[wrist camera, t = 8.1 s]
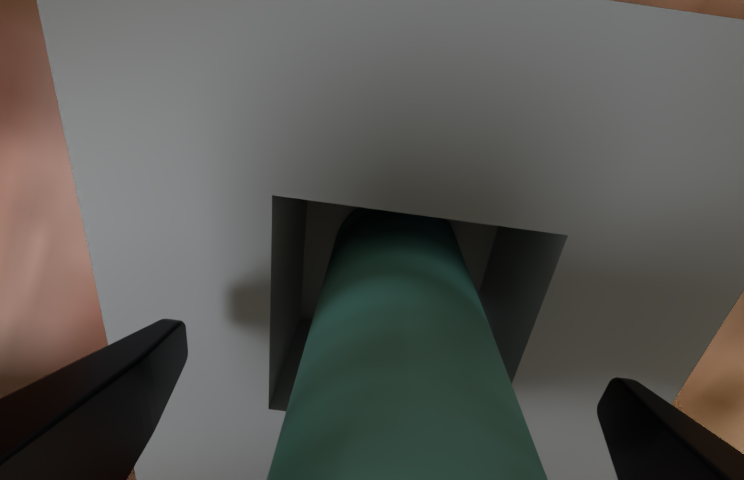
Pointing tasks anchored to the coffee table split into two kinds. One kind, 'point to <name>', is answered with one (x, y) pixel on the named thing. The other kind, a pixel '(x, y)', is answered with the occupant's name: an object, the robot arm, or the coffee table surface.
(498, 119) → the socket block
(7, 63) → the coffee table surface
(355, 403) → the peg
